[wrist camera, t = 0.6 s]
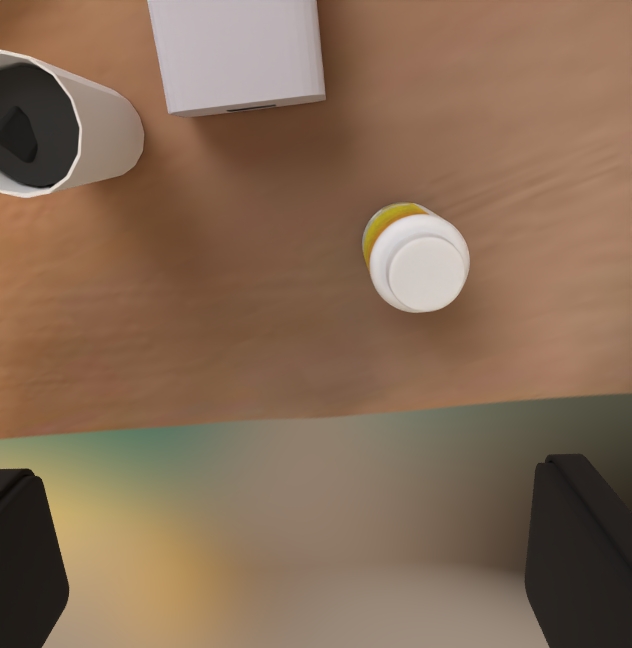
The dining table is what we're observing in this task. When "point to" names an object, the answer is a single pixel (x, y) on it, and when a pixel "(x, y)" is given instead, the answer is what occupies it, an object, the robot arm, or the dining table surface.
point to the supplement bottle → (415, 257)
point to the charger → (237, 54)
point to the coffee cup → (61, 129)
